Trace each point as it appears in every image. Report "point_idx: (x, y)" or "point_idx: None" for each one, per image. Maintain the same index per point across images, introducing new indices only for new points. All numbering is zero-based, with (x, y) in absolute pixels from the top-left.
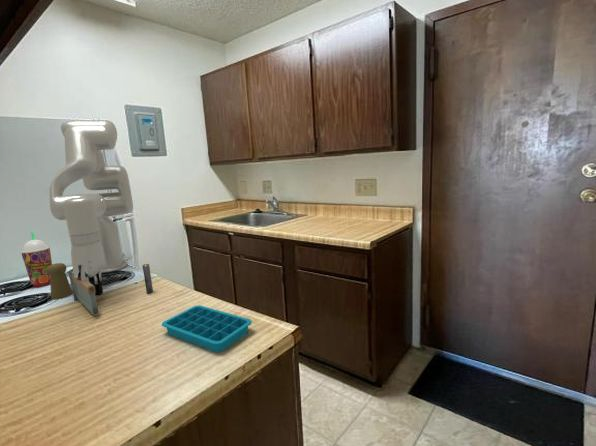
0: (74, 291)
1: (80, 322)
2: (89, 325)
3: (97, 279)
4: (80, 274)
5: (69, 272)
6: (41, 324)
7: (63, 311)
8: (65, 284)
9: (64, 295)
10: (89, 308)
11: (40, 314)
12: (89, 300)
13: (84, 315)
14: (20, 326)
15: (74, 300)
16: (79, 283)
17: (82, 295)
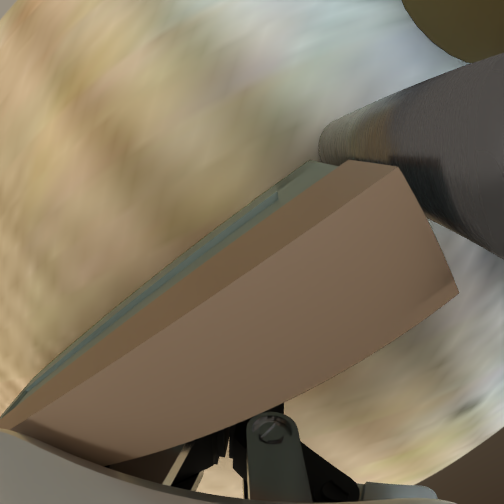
0: (336, 141)
1: (14, 324)
2: (7, 360)
3: (242, 476)
4: (68, 489)
5: (487, 87)
6: (3, 139)
7: (122, 152)
8: (496, 13)
9: (427, 22)
10: (50, 364)
11: (123, 19)
12: (22, 401)
13: (61, 318)
14: (15, 42)
15: (326, 127)
16: (18, 414)
17: (113, 326)
